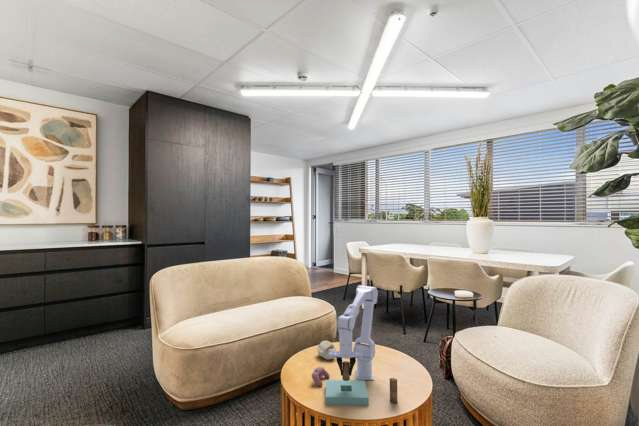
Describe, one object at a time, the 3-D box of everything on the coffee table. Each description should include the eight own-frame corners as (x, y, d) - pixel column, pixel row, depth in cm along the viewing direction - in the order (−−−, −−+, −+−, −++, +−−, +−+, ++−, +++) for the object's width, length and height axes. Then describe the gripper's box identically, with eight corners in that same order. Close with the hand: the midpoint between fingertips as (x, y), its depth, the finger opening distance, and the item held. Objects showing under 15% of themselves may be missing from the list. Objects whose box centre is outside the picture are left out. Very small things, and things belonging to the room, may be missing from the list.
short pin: (342, 377, 134) (342, 361, 134) (349, 377, 134) (349, 361, 134) (342, 380, 130) (342, 364, 131) (349, 380, 130) (349, 364, 131)
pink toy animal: (323, 379, 149) (317, 365, 150) (330, 376, 147) (325, 362, 148) (314, 389, 140) (308, 374, 141) (322, 386, 138) (316, 371, 140)
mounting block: (326, 386, 139) (326, 379, 139) (364, 387, 138) (364, 380, 139) (325, 404, 125) (325, 396, 125) (368, 405, 124) (368, 397, 125)
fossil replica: (330, 363, 162) (339, 358, 171) (332, 348, 163) (341, 343, 171) (312, 356, 169) (321, 352, 177) (314, 341, 170) (323, 337, 178)
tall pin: (389, 399, 129) (388, 377, 129) (396, 399, 129) (396, 378, 129) (390, 403, 126) (390, 381, 126) (398, 403, 125) (398, 381, 126)
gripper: (329, 346, 129) (329, 378, 128) (363, 347, 129) (363, 379, 128) (329, 340, 136) (329, 370, 135) (361, 340, 136) (361, 371, 135)
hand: (346, 374), depth 132 cm, fingers closed on short pin, 3 cm apart
